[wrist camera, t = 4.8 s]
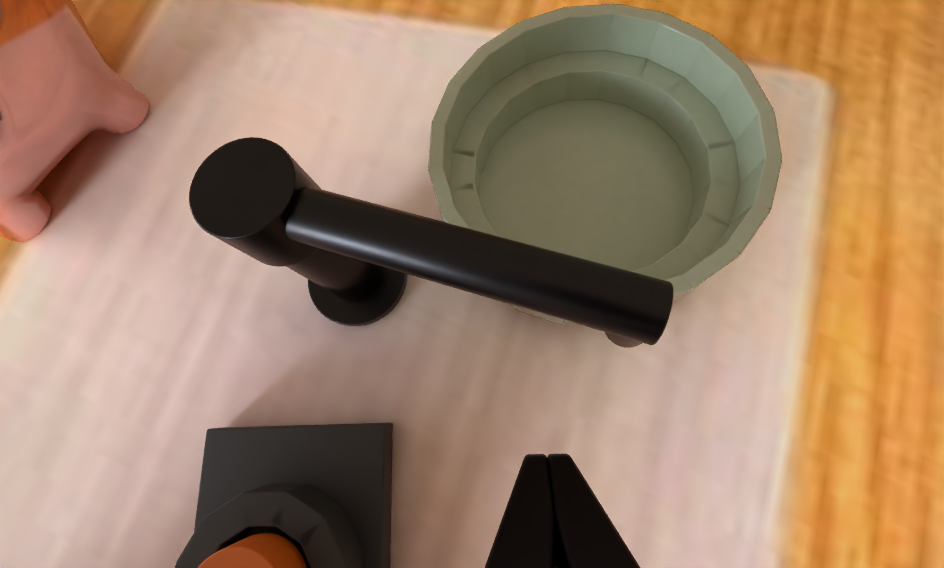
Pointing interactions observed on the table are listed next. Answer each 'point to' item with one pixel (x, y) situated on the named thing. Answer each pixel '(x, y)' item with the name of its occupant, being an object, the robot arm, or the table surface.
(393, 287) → the black faucet base
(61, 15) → the piggy bank
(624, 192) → the basin
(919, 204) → the table surface
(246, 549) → the orange button
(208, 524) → the button panel
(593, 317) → the spout
